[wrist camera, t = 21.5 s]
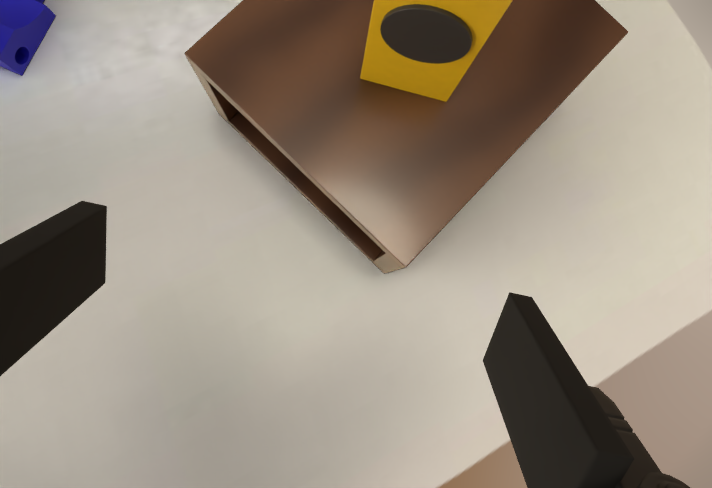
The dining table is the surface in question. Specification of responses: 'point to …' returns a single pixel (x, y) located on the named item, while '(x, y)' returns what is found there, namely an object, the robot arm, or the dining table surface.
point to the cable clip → (22, 31)
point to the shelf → (391, 109)
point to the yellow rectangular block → (427, 42)
